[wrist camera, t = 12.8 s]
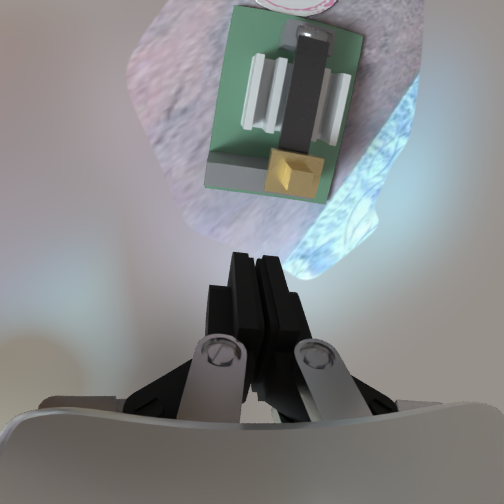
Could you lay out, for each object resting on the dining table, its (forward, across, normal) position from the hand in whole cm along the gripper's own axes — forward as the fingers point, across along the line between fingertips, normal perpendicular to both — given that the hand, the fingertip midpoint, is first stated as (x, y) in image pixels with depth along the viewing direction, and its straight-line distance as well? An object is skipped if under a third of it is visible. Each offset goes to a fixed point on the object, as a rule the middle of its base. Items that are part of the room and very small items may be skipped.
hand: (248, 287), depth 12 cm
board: (+27, -5, -6) cm, 28 cm away
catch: (+19, -6, 0) cm, 20 cm away
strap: (+22, -6, -7) cm, 24 cm away
